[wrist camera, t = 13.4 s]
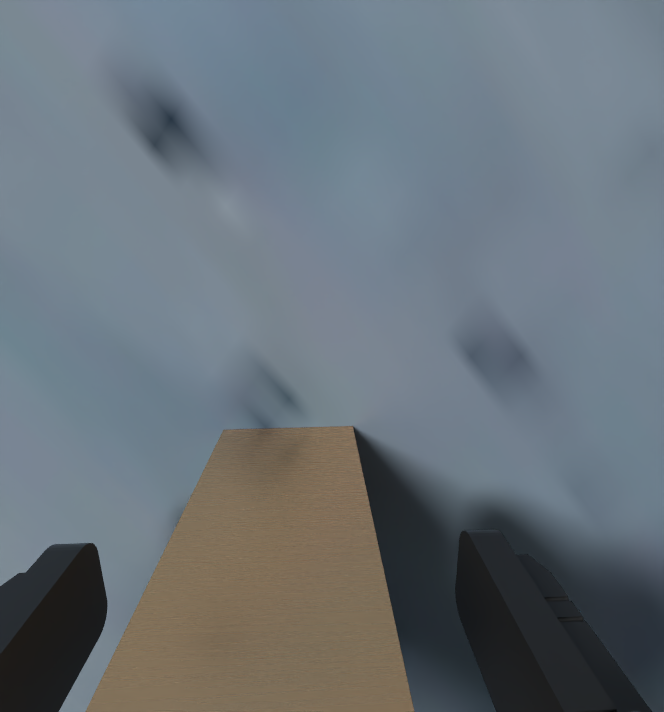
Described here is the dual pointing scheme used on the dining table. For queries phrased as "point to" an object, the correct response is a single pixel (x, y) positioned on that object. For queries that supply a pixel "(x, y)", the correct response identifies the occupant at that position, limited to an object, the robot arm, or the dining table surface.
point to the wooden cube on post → (266, 590)
